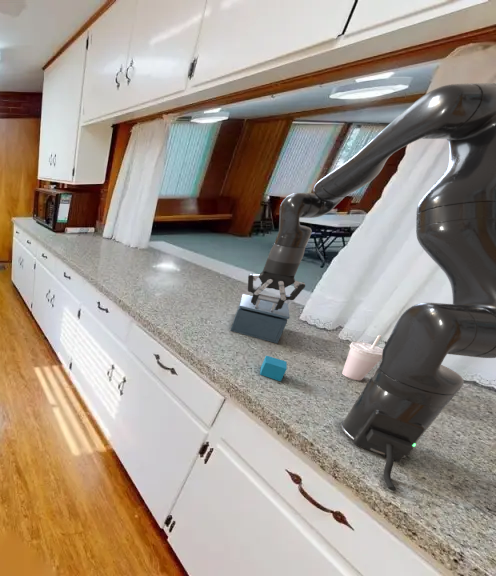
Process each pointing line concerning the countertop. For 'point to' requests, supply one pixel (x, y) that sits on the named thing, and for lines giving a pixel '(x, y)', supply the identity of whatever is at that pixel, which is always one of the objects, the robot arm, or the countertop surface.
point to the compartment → (258, 325)
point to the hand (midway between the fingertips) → (265, 306)
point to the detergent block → (273, 368)
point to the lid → (265, 305)
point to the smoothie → (362, 359)
